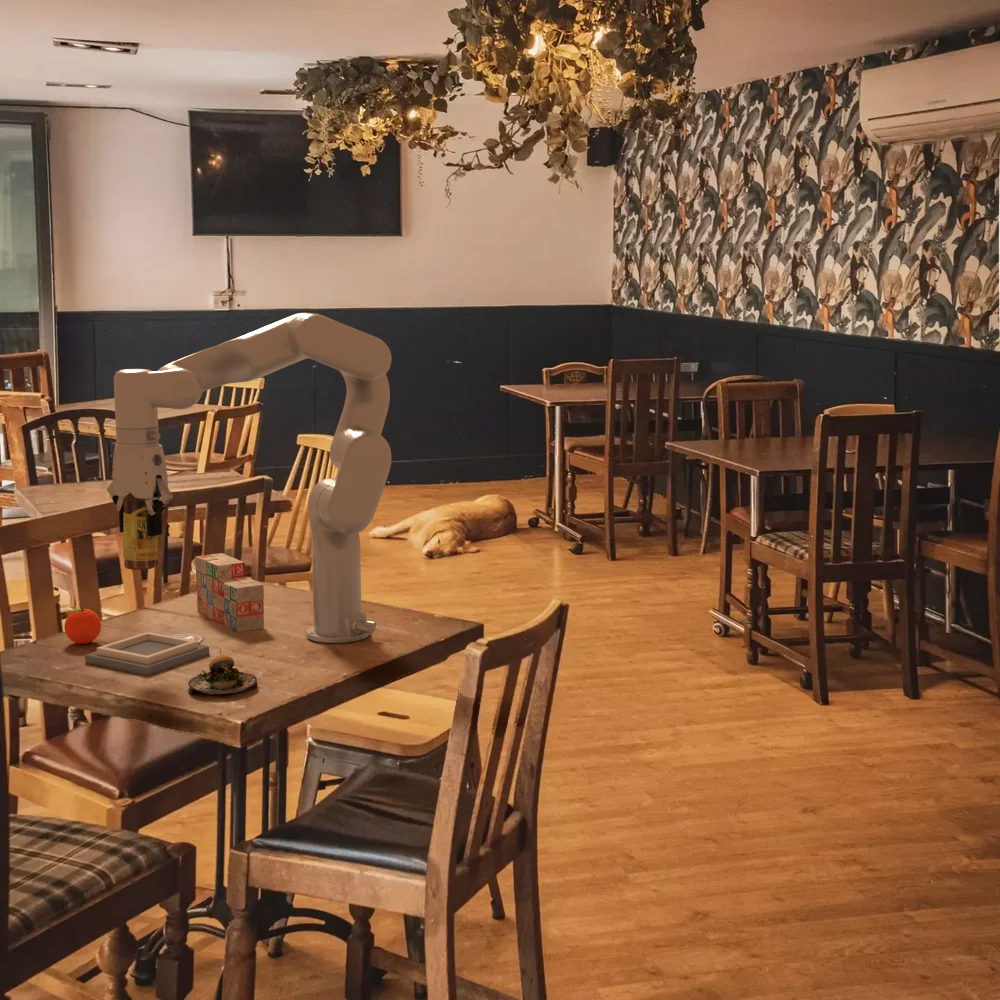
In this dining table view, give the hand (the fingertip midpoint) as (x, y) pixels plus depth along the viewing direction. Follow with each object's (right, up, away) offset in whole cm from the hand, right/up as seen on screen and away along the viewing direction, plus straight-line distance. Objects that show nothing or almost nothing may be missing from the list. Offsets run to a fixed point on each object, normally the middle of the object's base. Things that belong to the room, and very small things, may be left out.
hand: (140, 532), depth 252 cm
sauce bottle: (0, -7, +1) cm, 7 cm away
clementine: (-16, -22, +15) cm, 31 cm away
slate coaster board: (0, -24, +4) cm, 24 cm away
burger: (+18, -27, -14) cm, 36 cm away
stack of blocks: (+10, -19, +33) cm, 39 cm away
